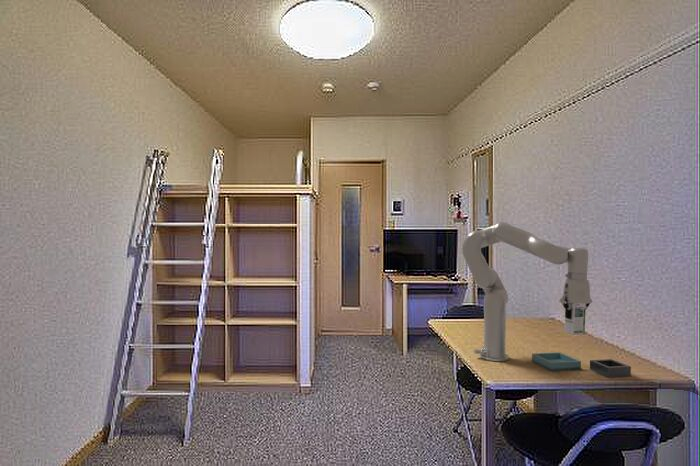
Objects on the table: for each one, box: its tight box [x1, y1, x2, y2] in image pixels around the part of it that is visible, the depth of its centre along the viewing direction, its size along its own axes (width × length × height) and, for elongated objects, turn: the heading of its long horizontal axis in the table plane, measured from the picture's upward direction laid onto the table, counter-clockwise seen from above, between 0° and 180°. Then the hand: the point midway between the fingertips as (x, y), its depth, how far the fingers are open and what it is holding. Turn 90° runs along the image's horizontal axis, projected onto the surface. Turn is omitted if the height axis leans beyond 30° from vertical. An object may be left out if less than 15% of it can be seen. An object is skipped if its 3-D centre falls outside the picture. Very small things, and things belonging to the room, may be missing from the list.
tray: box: [531, 351, 582, 372], centre depth 198 cm, size 14×14×4 cm
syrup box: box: [564, 303, 587, 336], centre depth 194 cm, size 6×6×14 cm
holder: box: [589, 358, 632, 379], centre depth 189 cm, size 10×10×4 cm
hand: (574, 318), depth 194 cm, fingers closed on syrup box, 5 cm apart
